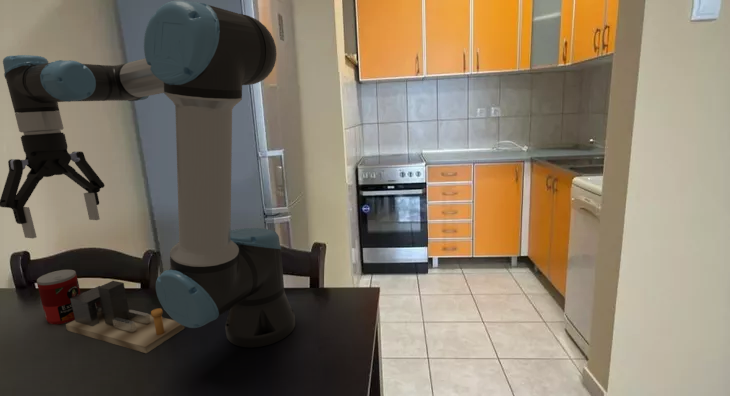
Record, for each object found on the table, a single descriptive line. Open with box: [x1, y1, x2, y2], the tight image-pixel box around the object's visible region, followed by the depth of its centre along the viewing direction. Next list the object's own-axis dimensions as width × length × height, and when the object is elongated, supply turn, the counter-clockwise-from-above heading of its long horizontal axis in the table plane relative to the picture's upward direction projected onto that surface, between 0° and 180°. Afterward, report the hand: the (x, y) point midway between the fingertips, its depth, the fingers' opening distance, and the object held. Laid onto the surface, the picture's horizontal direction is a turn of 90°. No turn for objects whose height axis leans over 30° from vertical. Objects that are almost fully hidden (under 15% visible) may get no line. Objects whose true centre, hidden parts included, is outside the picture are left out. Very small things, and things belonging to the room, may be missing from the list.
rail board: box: [65, 312, 185, 354], centre depth 93 cm, size 26×10×2 cm, turn 67°
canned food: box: [36, 269, 82, 325], centre depth 99 cm, size 8×8×11 cm
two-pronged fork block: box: [96, 280, 151, 332], centre depth 93 cm, size 19×5×9 cm, turn 67°
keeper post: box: [150, 307, 164, 335], centre depth 88 cm, size 2×2×5 cm
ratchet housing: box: [70, 285, 102, 326], centre depth 96 cm, size 6×7×6 cm
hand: (64, 228), depth 91 cm, fingers open, 13 cm apart
